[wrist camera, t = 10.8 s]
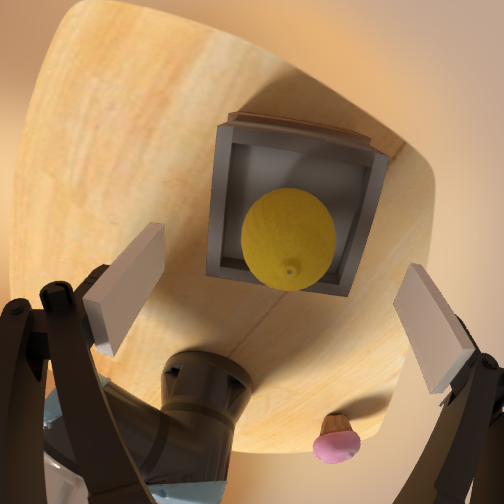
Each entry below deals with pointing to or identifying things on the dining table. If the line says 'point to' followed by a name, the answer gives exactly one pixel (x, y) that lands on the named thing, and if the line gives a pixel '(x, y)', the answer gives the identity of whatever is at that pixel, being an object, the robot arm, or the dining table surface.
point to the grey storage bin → (292, 176)
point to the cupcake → (336, 440)
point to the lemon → (288, 239)
